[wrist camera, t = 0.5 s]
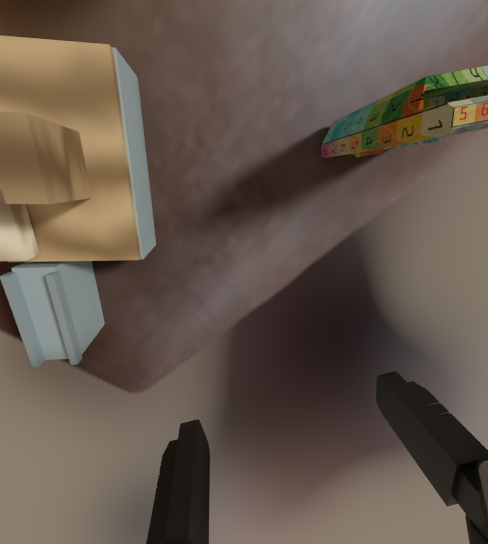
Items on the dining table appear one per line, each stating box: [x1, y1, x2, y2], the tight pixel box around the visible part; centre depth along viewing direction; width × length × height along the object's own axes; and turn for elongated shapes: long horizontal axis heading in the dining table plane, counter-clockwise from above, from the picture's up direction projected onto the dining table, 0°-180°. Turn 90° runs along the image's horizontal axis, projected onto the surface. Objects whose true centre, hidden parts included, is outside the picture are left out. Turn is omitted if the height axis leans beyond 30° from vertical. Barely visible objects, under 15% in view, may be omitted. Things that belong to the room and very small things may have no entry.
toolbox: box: [0, 47, 156, 367], centre depth 29 cm, size 33×14×9 cm, turn 179°
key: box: [0, 186, 40, 261], centre depth 23 cm, size 12×2×2 cm, turn 179°
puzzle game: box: [321, 66, 488, 158], centre depth 24 cm, size 12×5×20 cm, turn 100°
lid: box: [0, 36, 141, 262], centre depth 21 cm, size 20×14×8 cm
